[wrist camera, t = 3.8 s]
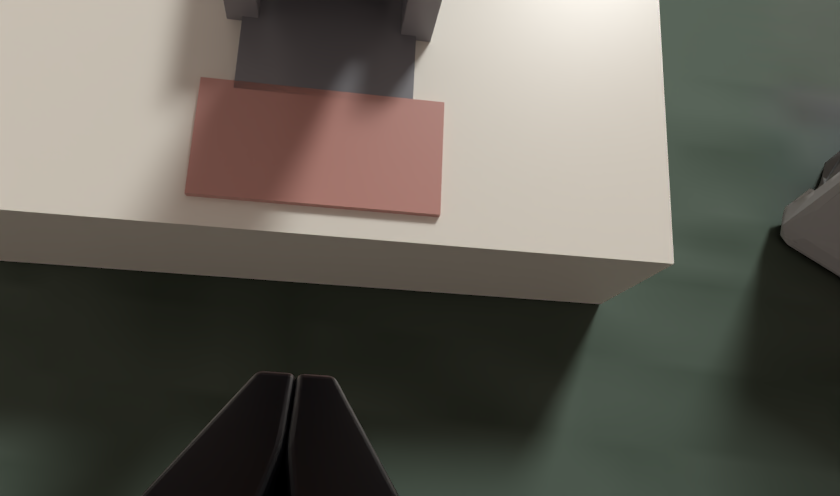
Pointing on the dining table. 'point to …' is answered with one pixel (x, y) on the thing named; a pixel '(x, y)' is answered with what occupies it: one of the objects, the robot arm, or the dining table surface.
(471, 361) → the dining table surface
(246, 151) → the breaker housing
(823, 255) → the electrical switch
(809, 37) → the dining table surface
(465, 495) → the dining table surface
